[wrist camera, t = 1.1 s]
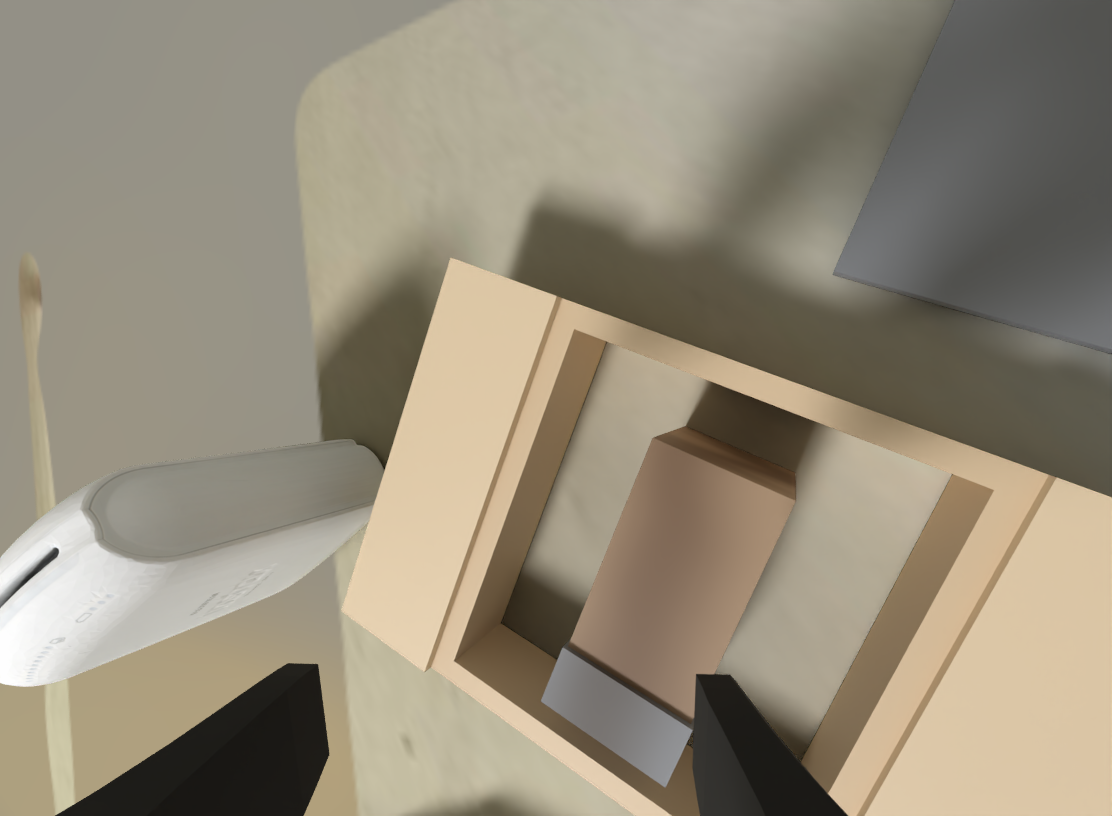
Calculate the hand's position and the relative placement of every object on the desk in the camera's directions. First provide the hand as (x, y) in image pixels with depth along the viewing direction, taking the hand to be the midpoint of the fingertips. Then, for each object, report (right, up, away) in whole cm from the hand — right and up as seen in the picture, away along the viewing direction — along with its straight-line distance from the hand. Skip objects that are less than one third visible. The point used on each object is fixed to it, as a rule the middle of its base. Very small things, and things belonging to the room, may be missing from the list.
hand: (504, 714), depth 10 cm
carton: (+6, 0, +10) cm, 11 cm away
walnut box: (+6, +1, +10) cm, 12 cm away
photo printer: (-11, 0, +17) cm, 20 cm away
